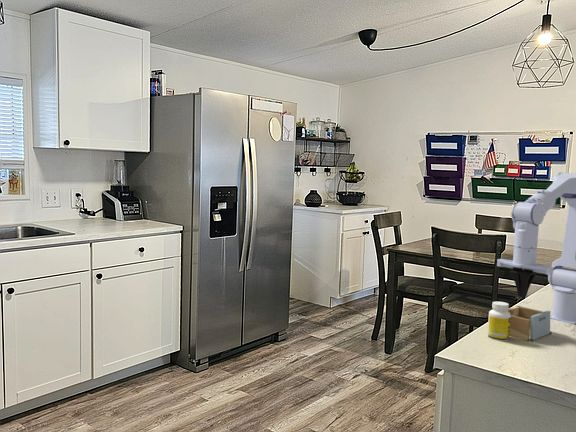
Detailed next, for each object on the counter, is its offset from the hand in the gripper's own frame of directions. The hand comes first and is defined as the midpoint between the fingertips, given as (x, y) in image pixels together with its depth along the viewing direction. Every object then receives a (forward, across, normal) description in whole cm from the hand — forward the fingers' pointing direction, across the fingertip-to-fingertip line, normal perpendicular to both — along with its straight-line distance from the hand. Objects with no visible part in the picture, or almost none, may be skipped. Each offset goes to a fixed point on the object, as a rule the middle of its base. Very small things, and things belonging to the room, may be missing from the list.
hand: (522, 296), depth 143 cm
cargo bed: (+10, 0, 0) cm, 10 cm away
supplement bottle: (+11, -1, -10) cm, 14 cm away
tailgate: (+10, +6, 0) cm, 11 cm away
